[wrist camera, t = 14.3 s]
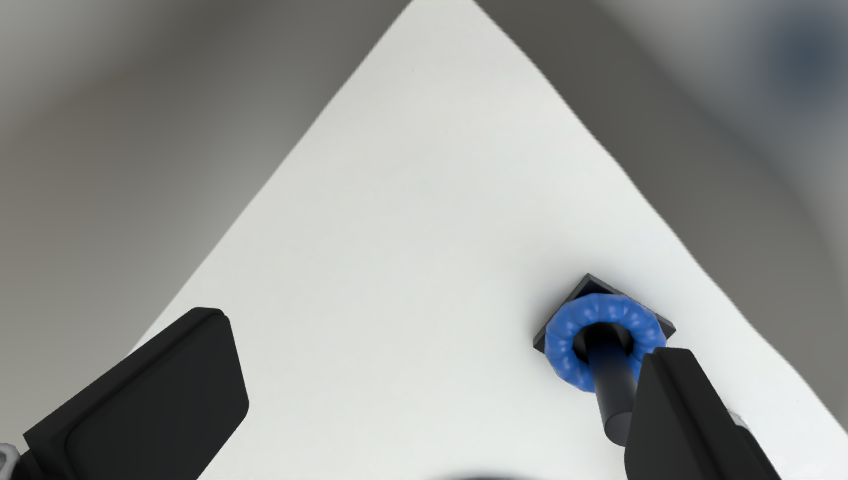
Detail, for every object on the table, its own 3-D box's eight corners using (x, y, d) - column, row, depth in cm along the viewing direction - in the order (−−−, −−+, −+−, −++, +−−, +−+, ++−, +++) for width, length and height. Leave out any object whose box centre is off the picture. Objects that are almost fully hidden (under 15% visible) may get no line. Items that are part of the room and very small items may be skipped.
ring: (523, 346, 37) (523, 361, 35) (587, 268, 33) (591, 280, 31) (612, 399, 37) (617, 417, 35) (685, 327, 33) (696, 343, 31)
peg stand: (532, 339, 38) (536, 435, 28) (588, 272, 35) (614, 353, 25) (609, 385, 38) (641, 498, 28) (672, 322, 35) (733, 424, 25)
